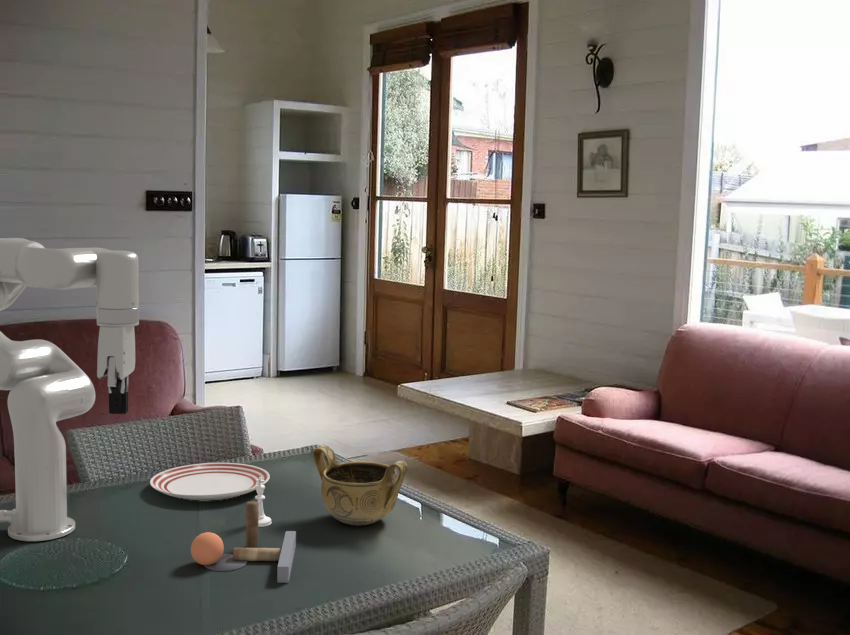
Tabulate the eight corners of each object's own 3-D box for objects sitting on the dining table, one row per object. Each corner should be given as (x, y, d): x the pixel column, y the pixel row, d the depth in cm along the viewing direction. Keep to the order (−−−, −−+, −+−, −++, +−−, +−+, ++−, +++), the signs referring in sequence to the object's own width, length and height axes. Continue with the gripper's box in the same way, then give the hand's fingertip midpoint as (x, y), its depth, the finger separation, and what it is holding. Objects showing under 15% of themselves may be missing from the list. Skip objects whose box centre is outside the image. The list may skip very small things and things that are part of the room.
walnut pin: (245, 549, 181) (245, 504, 180) (246, 545, 184) (247, 501, 183) (257, 549, 182) (257, 505, 180) (258, 545, 184) (259, 501, 183)
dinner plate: (124, 492, 215) (124, 478, 214) (214, 466, 237) (214, 454, 237) (206, 517, 199) (206, 502, 199) (293, 488, 222) (293, 474, 221)
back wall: (277, 582, 166) (277, 566, 166) (285, 545, 184) (285, 531, 184) (288, 582, 166) (288, 566, 166) (295, 545, 184) (295, 531, 184)
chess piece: (266, 528, 194) (267, 481, 192) (244, 525, 195) (244, 479, 193) (275, 520, 198) (275, 475, 197) (253, 518, 199) (253, 472, 198)
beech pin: (234, 545, 177) (282, 545, 177) (235, 556, 177) (282, 557, 178) (233, 551, 175) (281, 552, 175) (233, 563, 175) (281, 563, 176)
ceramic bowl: (293, 522, 198) (294, 453, 196) (337, 500, 213) (339, 437, 211) (383, 543, 187) (385, 470, 185) (423, 519, 202) (425, 452, 200)
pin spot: (200, 571, 170) (200, 570, 170) (207, 554, 178) (207, 553, 178) (244, 571, 171) (244, 570, 171) (249, 554, 179) (249, 553, 179)
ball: (225, 550, 170) (211, 576, 171) (231, 535, 176) (218, 560, 177) (195, 536, 169) (182, 562, 171) (202, 521, 175) (189, 547, 176)
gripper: (108, 311, 180) (109, 404, 183) (85, 321, 166) (86, 422, 168) (147, 312, 181) (148, 404, 183) (128, 322, 166) (129, 422, 168)
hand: (118, 412), depth 176 cm, fingers closed
